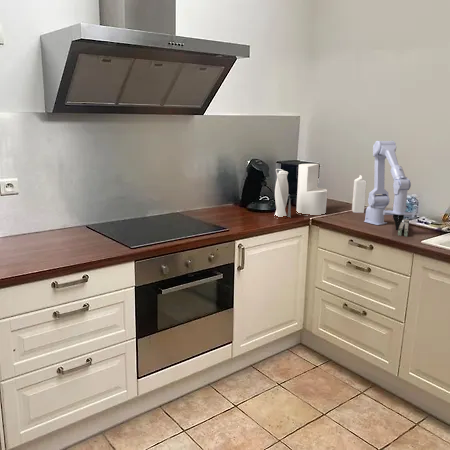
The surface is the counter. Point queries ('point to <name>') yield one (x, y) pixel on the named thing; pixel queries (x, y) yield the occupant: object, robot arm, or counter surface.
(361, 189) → the milk
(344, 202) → the counter surface
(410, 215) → the robot arm
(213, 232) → the counter surface
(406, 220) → the arm
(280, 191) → the skyscraper
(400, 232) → the bar
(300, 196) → the white stepped block
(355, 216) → the counter surface
